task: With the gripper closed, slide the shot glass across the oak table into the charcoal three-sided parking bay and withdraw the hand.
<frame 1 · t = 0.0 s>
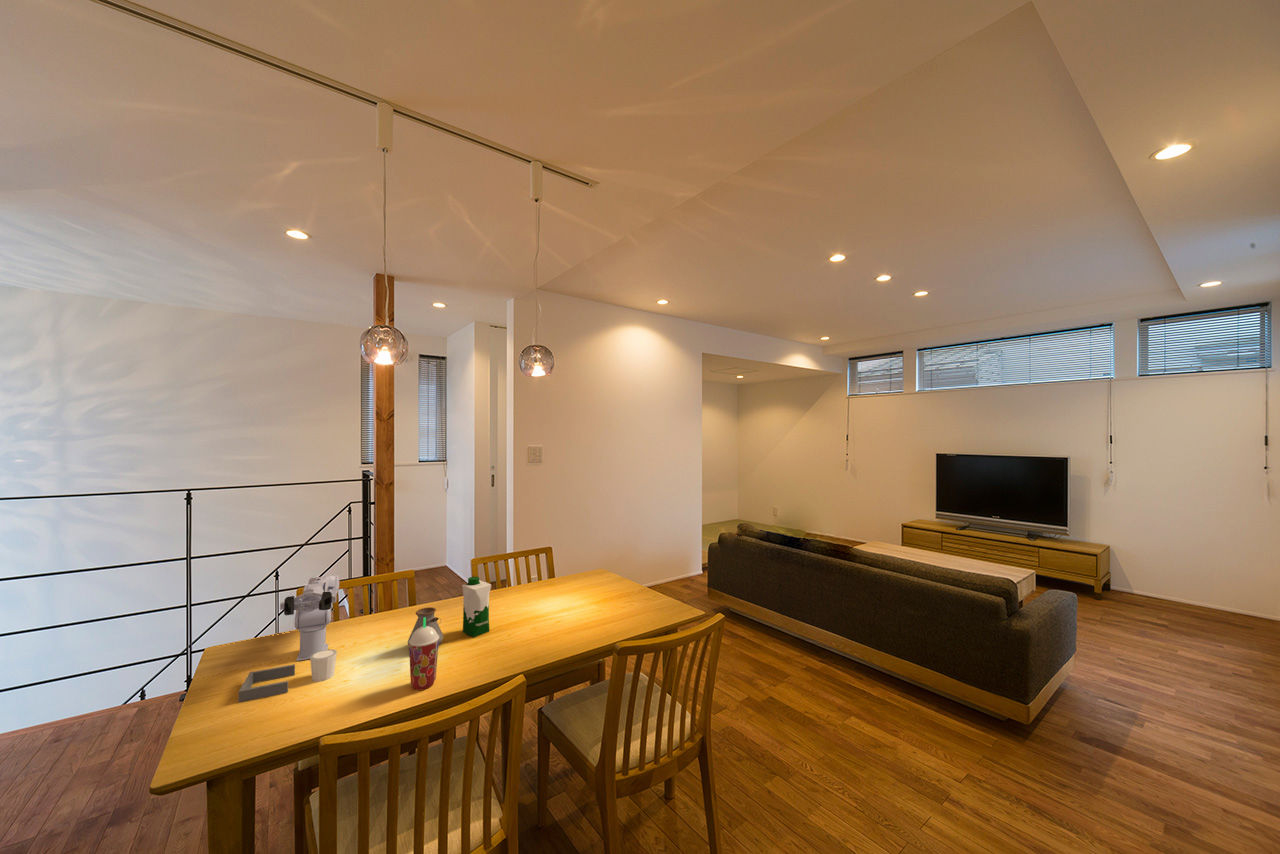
hand: (304, 608, 143), 22 cm above the table, tool horizontal, fingers open, 7 cm apart
parking bay: (270, 686, 139), on the table
milk carton: (476, 632, 178), on the table
smoothie: (423, 685, 140), on the table
coffee pot: (429, 653, 161), on the table
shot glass: (323, 677, 145), on the table
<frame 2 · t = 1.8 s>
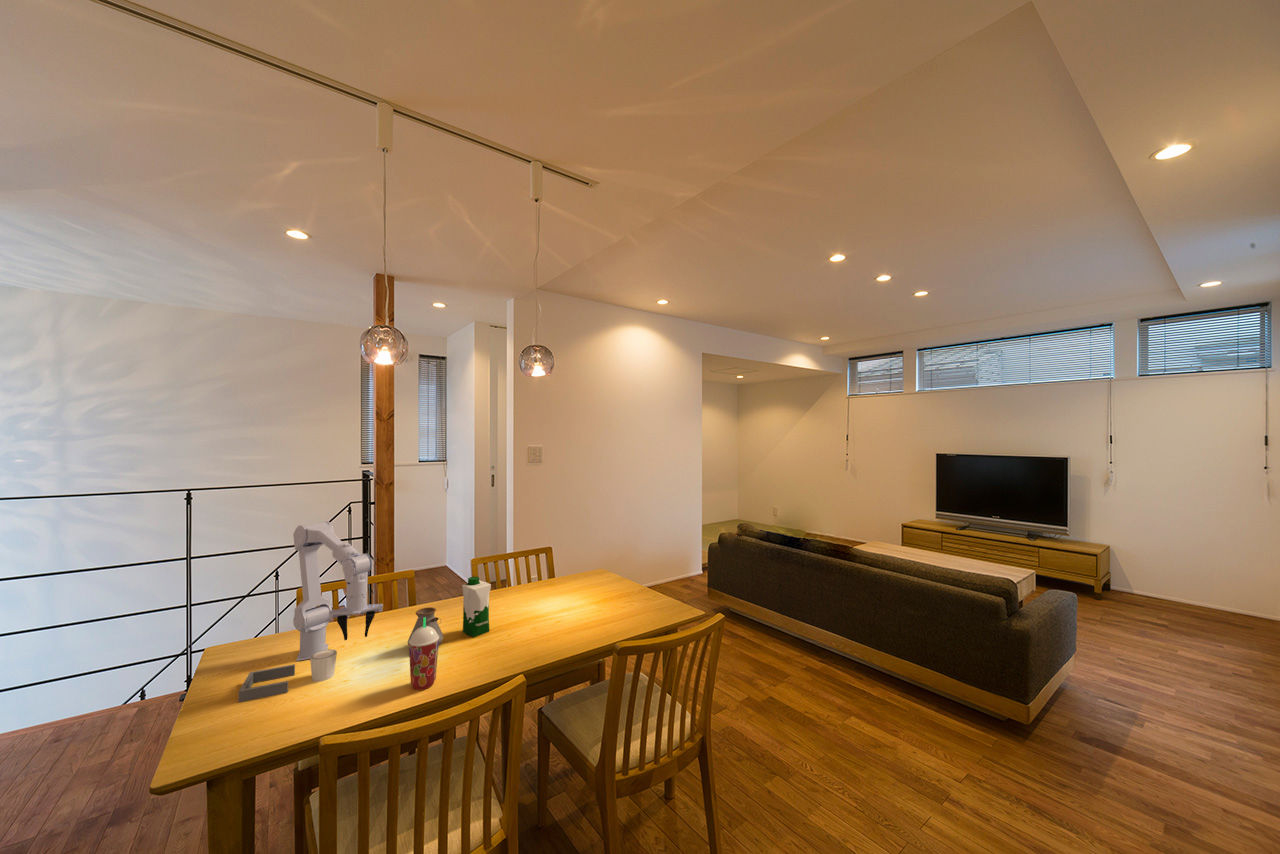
hand: (356, 637, 149), 10 cm above the table, tool pointing down, fingers open, 5 cm apart
nothing on the table moved.
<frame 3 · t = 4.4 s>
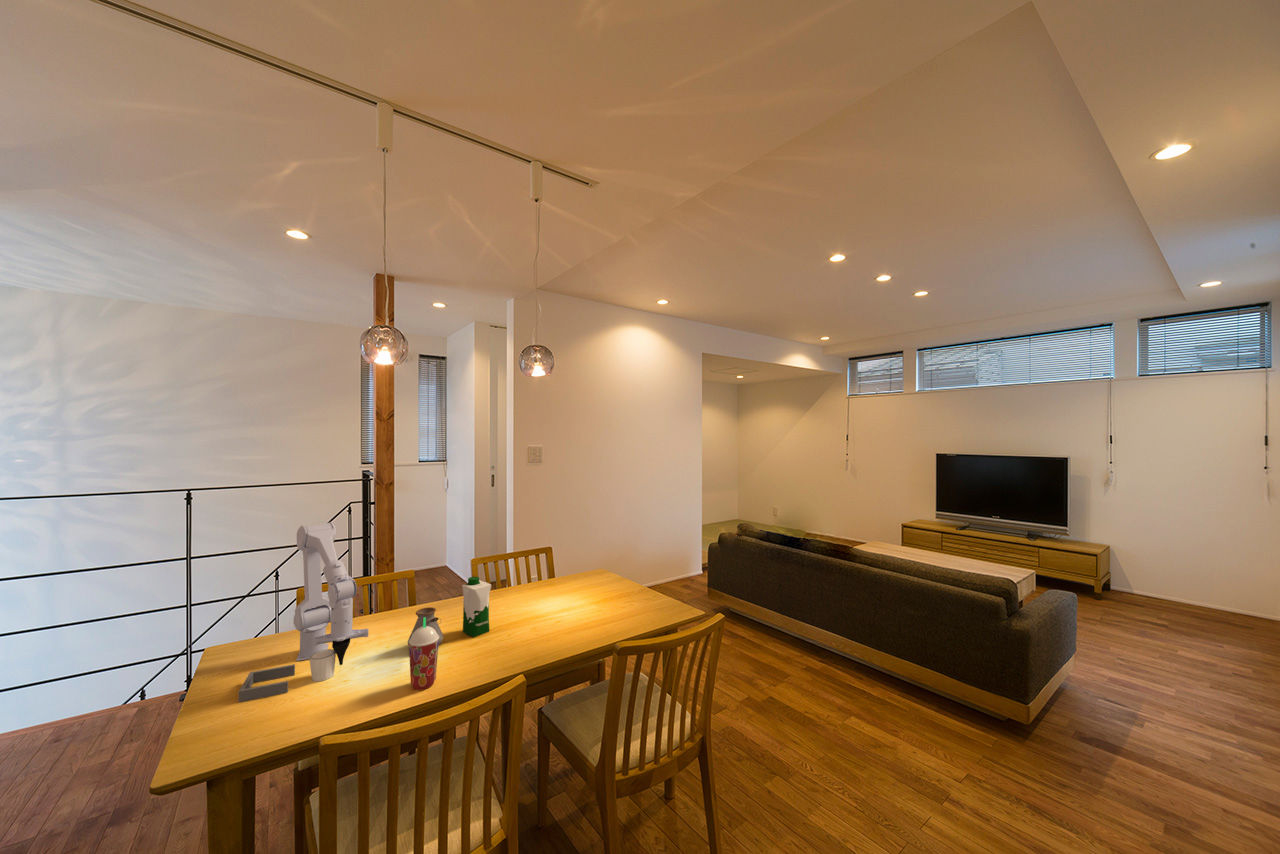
hand: (341, 663, 147), 3 cm above the table, tool pointing down, fingers closed
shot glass: (323, 677, 145), on the table, touching gripper
everything else where it was.
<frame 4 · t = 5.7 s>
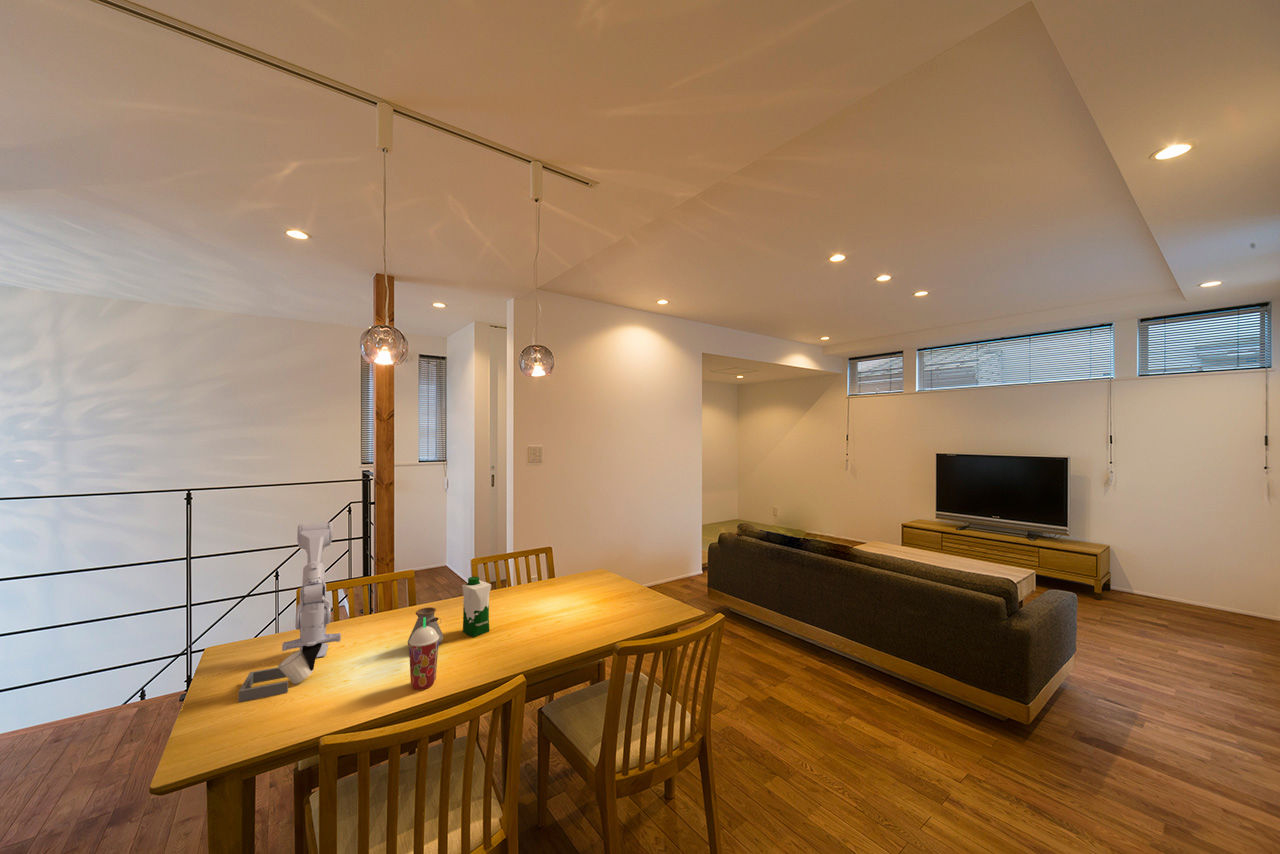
hand: (311, 669, 143), 3 cm above the table, tool pointing down, fingers closed, pressing on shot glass
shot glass: (303, 676, 142), point 1 cm above the table, touching gripper
everything else where it was.
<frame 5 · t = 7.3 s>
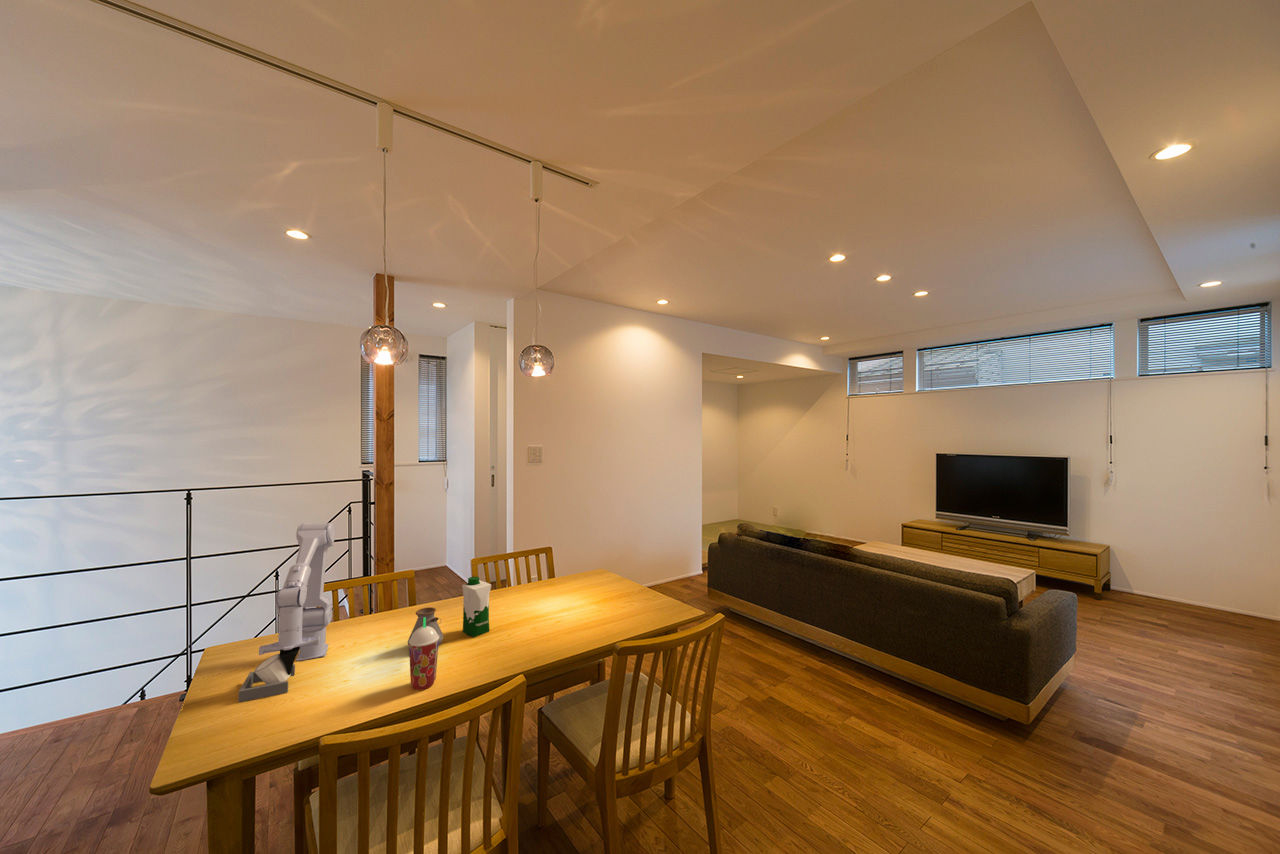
hand: (289, 673, 141), 3 cm above the table, tool pointing down, fingers closed, pressing on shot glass
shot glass: (281, 681, 140), point 1 cm above the table, touching gripper
everything else where it was.
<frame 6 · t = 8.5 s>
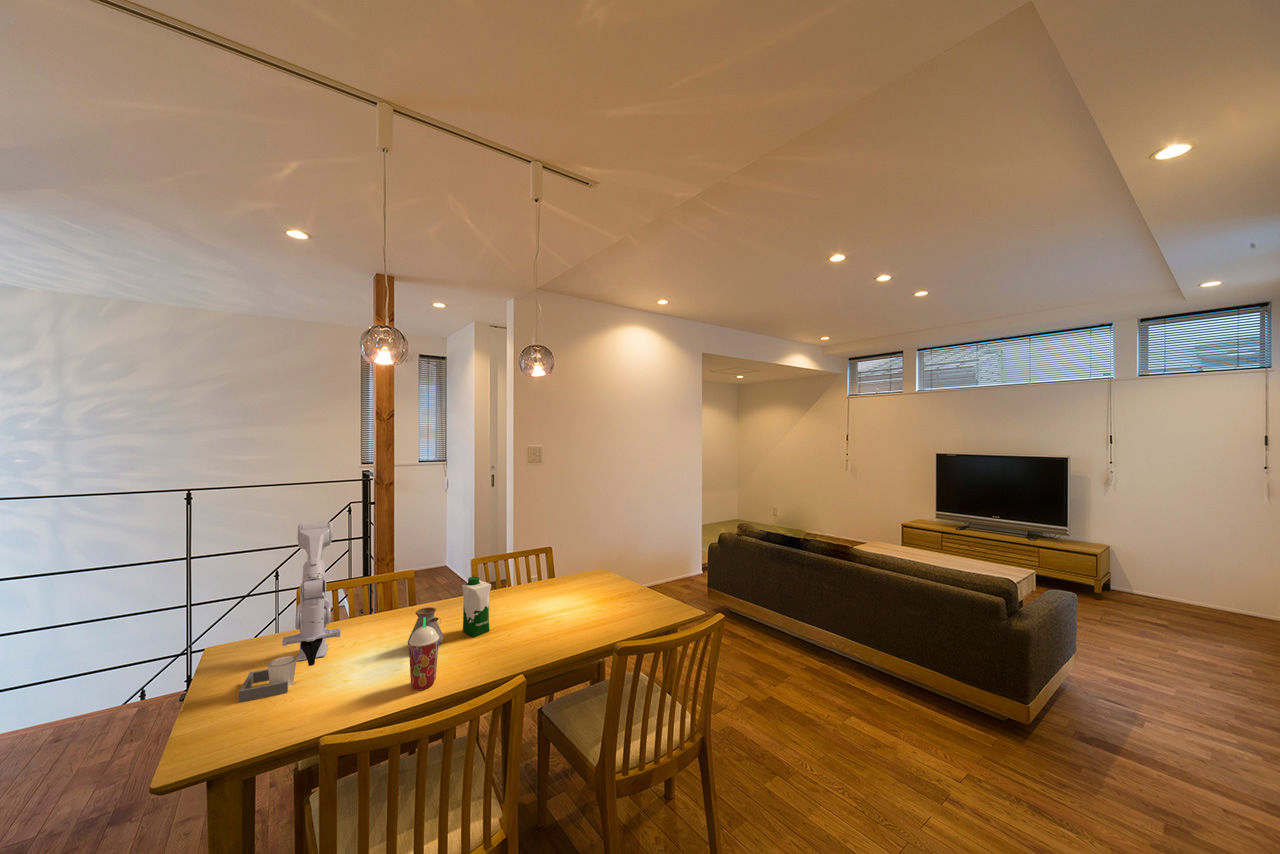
hand: (311, 664, 143), 4 cm above the table, tool pointing down, fingers closed
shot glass: (281, 685, 140), on the table
everything else where it was.
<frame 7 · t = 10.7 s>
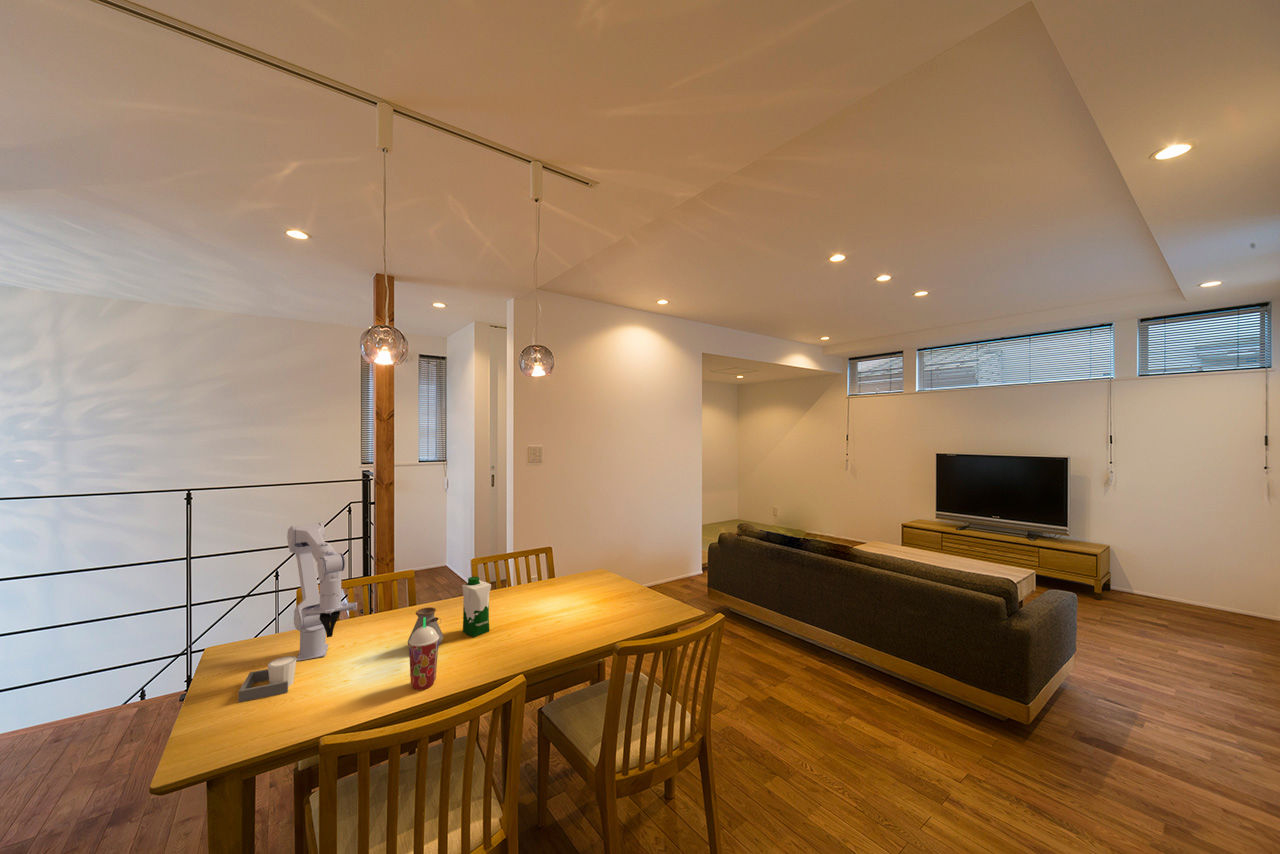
hand: (329, 635, 150), 10 cm above the table, tool pointing down, fingers closed
nothing on the table moved.
at the end: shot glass inside the target area on the parking bay (3.5 cm from its centre), point 0.0 cm above the parking bay's base; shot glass tilted 0°; the gripper is holding nothing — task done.
